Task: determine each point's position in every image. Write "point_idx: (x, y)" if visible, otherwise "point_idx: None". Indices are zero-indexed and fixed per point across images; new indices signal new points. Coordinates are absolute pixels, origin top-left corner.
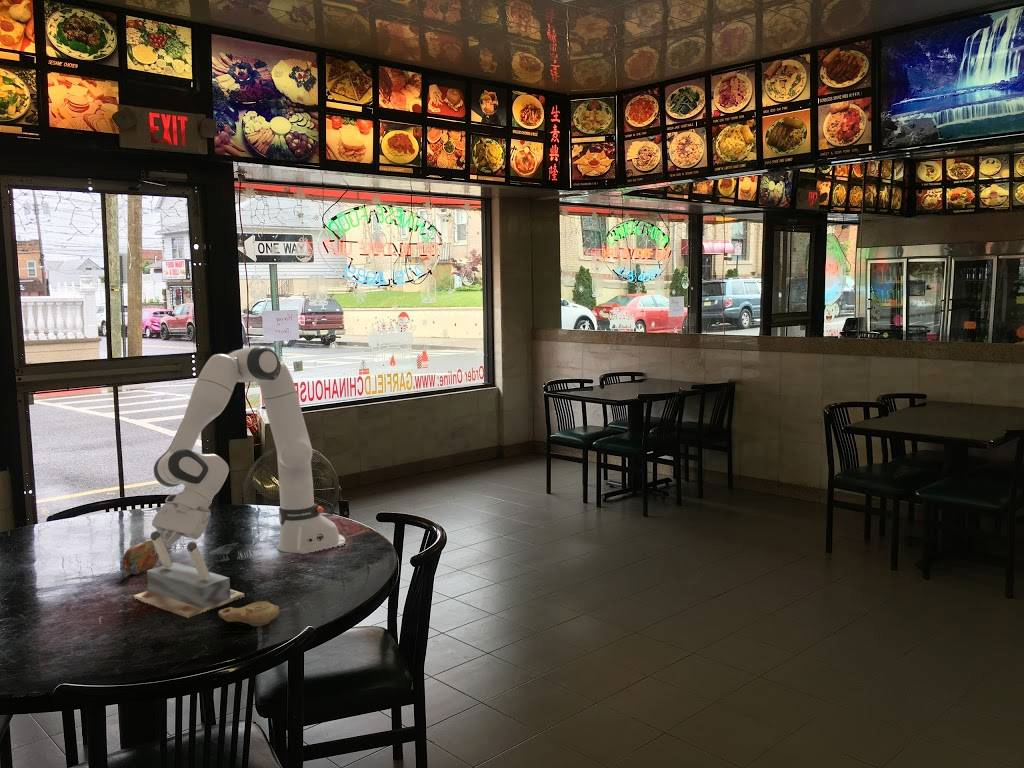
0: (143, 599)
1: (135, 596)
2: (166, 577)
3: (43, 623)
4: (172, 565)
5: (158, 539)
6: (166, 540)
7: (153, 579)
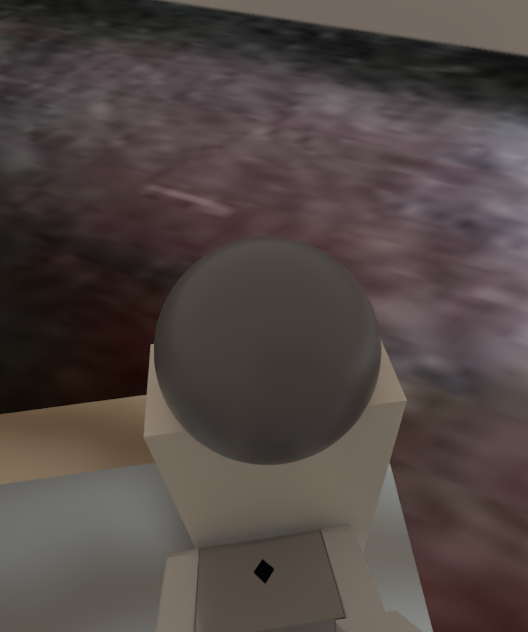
0: None
1: None
2: (97, 472)
3: (318, 86)
4: None
5: (151, 383)
6: (229, 618)
7: None
